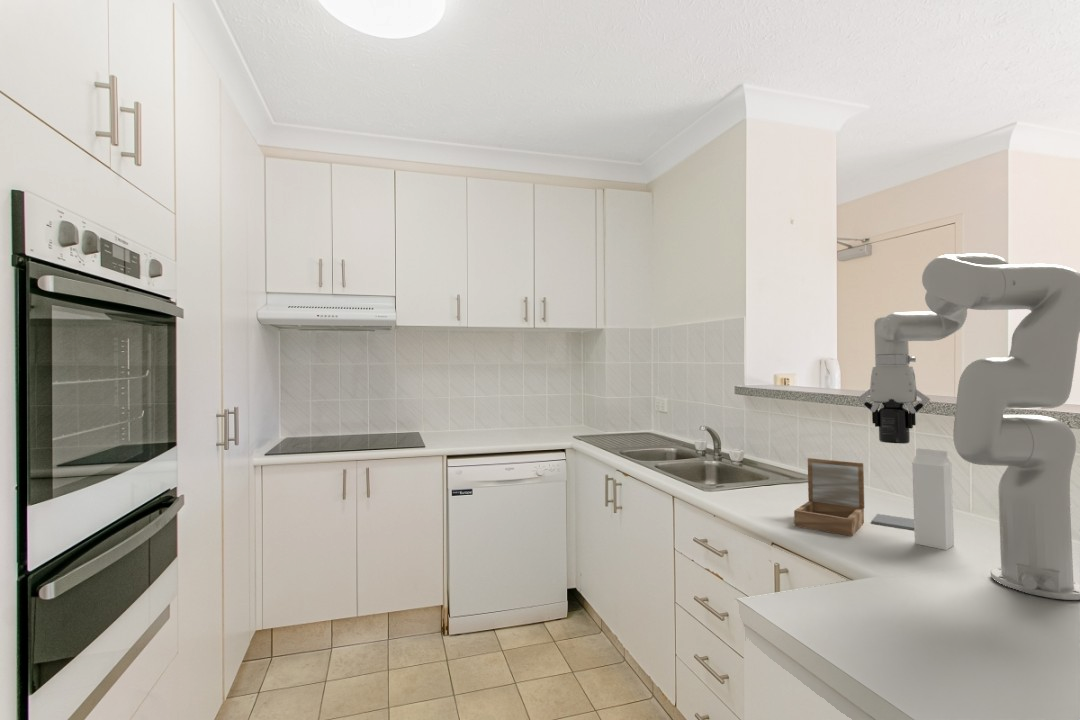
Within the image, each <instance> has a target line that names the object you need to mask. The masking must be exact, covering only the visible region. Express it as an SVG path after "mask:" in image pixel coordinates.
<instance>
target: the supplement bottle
mask: <svg viewBox="0 0 1080 720" xmlns="http://www.w3.org/2000/svg"><path fill="white" fill-rule="evenodd" d="M881 405H882V406H883V407H881V408H879V409H878V417H879V426H878V440H879V442H880V443H885V444H887V443H888V444H899V445H901V444H902V445H903V444H909V443H911V442H910V428H908V414H909V409H908V408H905V407H904V406H905V403H898V402H896V401H894V399H893V400H892V399H891V400H890V399H889V402H888V401H887V402H886V403H881Z"/></svg>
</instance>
